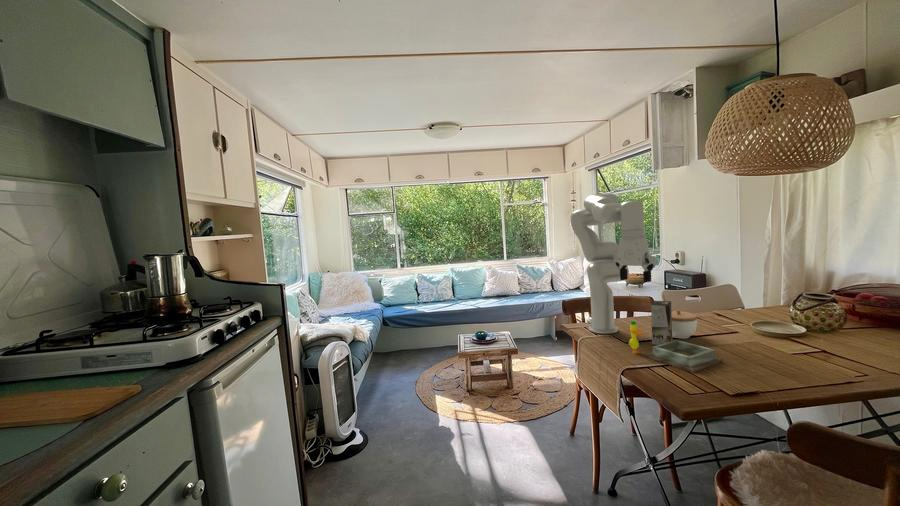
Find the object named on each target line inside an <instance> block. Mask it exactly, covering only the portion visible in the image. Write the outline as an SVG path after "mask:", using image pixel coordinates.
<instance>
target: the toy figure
mask: <svg viewBox="0 0 900 506" xmlns="http://www.w3.org/2000/svg"><path fill="white" fill-rule="evenodd" d="M637 326H638V325H637V323H636V320H630V325H629V328H630V329H629V332H630V336H631V338H630V339H629V341H628V345H629V346H630V347H631V349H632V352H631V353H632V354H635V355H637V354H640V351H639V350H637V349H638V348H639V346H640V343H639V340H638V339H637V336H643V334H644V332H643V331H641V330H640V329H638V328H637Z"/></svg>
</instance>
